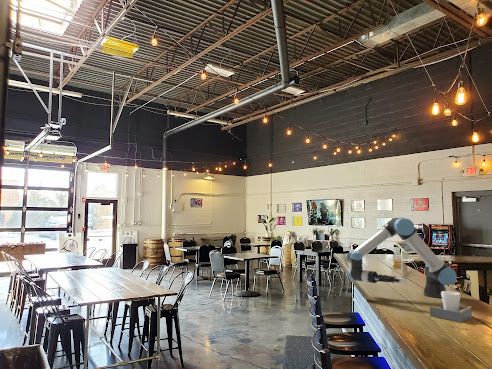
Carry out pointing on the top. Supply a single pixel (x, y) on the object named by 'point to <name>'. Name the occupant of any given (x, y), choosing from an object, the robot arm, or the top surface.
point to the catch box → (452, 313)
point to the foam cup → (451, 300)
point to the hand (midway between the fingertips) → (405, 281)
